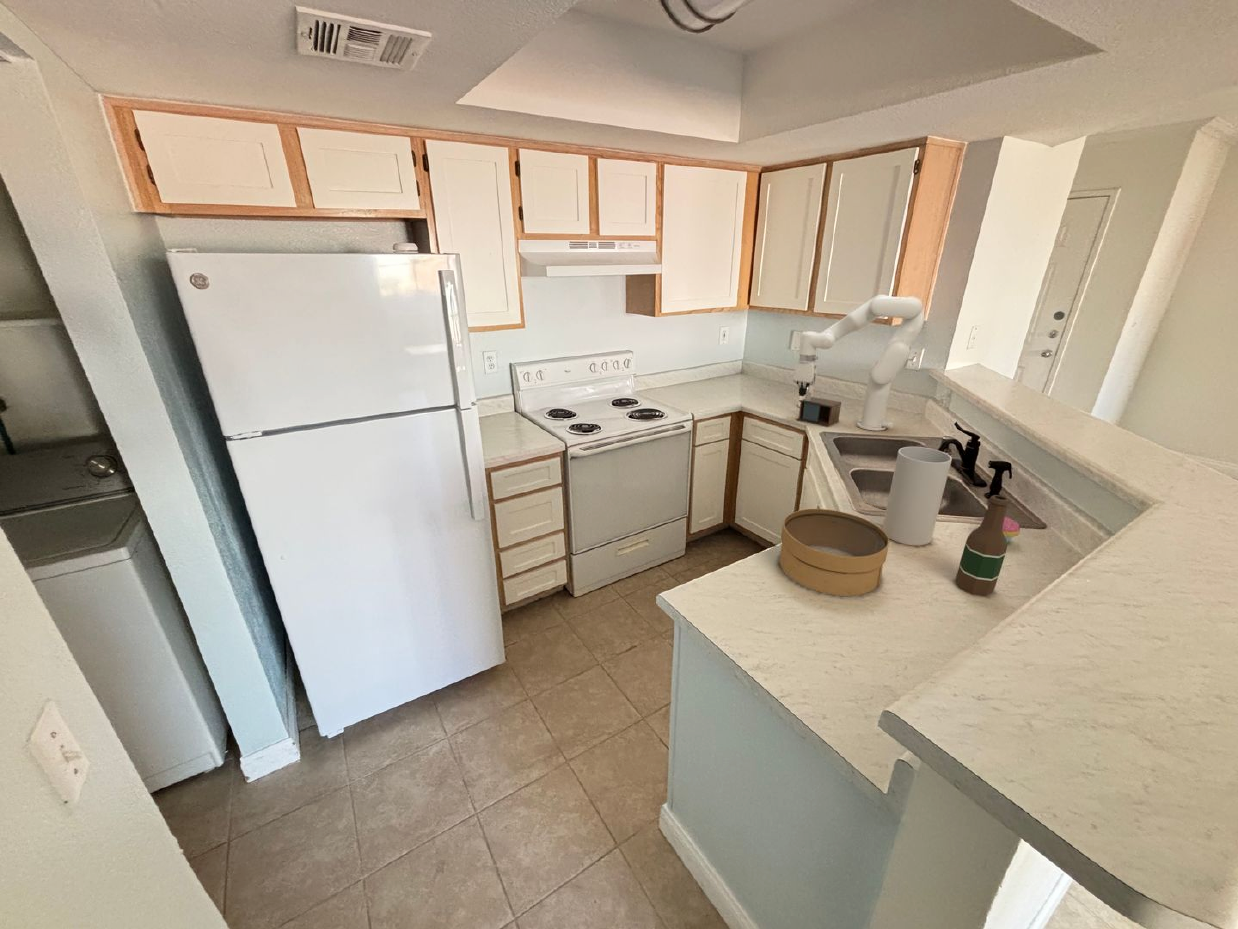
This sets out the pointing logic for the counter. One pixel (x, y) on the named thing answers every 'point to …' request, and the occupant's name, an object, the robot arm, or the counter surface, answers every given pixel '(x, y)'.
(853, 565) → the steamer basket
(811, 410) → the glass door
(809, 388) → the water bottle
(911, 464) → the cylinder vase
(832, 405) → the cabinet
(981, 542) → the beer bottle
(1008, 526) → the cupcake
